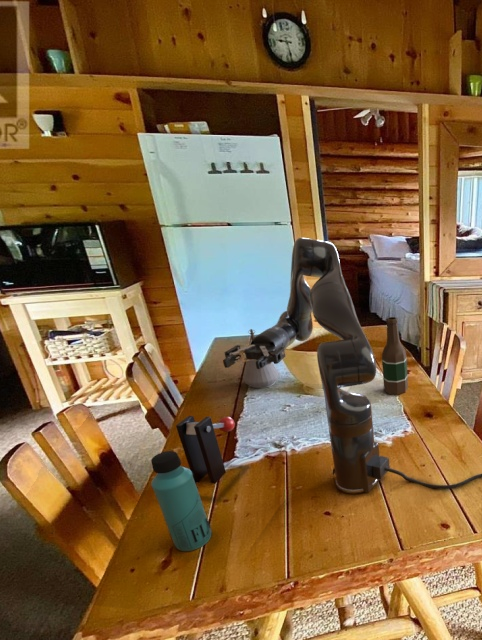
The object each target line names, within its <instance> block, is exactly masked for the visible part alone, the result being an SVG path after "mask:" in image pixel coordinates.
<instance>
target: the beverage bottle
mask: <svg viewBox="0 0 482 640" xmlns="http://www.w3.org/2000/svg"><path fill="white" fill-rule="evenodd" d="M181 465H182V460H181V459H180V456H179V455H178V453H177V452H176V451H174V450H165V451H162V452H159V453H158V454H157V453H156V454H155V455H154V456H153V457H152V458H151V466H152V471H153V472H154V473H156V475H155V476H154V477H153V478H152V480H151V483H150V484H151V485H150V486H151V488H152V489H153V492H154V495H155V497H156V500H157V502H158V505H159V508H160V510H161V513H162V516H163V520H164V522H165V525H166V528H167V530H168V533H169V536H170V539H171V540H172V543H173V545H174V547H175V548H176V549H177V550H179V551H181V552H192V551H195V550H197V549H200V548H201V547H203V546H205V545H206V544H208V542H209V541H210V540H211V538H212V533H213V532H212V526H211V525H210V524H211V523H210V520H209V519H210V518H209V516H208V514H207V512H206V509H205V506H204V504H203V502H202V497H201V494H200V490H199V487H198V485H197V483H196V482H195V481H194V478H193V474H192V471H191V470H190V468H189V467H185V466H181Z"/></svg>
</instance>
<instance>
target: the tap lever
mask: <svg viewBox="0 0 482 640" xmlns="http://www.w3.org/2000/svg"><path fill="white" fill-rule="evenodd" d="M199 422H200V421H195V422H192V423H187V427H186V434H189V435H196V432H195V429H194V426H195V425H196V424H198V423H199ZM212 424H213V428H214V430H215V429H219V431H221V432H223V433H229V432H232V430H234V428H235V427H236V423H235V420H234V419H233V418H231V417H230V416H223V417H221V418H220V419H219V420H218V422H214V423H212Z"/></svg>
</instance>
